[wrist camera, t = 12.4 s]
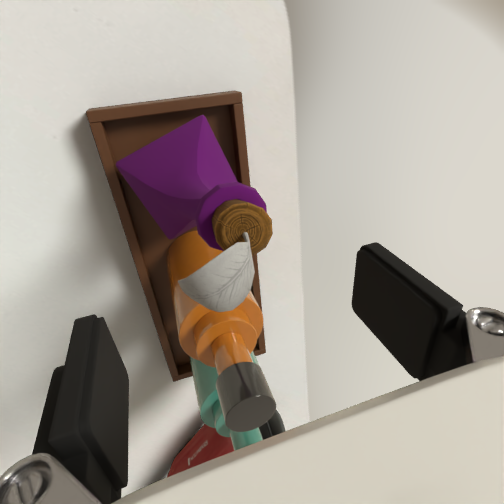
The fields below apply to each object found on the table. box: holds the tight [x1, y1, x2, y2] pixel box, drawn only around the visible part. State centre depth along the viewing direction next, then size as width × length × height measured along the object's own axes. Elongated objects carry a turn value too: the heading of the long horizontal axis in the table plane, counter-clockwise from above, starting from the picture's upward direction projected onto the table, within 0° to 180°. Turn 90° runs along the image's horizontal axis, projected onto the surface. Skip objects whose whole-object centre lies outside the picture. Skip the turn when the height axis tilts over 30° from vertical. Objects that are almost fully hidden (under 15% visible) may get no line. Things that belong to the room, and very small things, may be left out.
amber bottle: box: [166, 230, 276, 432], centre depth 26 cm, size 6×6×18 cm
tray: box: [86, 91, 266, 381], centre depth 33 cm, size 30×12×2 cm, turn 5°
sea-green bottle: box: [189, 351, 263, 451], centre depth 30 cm, size 6×6×18 cm
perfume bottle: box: [116, 115, 272, 312], centre depth 21 cm, size 8×8×18 cm
